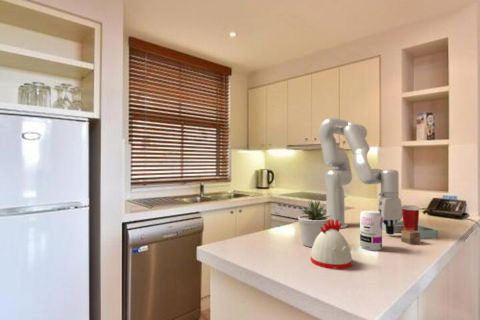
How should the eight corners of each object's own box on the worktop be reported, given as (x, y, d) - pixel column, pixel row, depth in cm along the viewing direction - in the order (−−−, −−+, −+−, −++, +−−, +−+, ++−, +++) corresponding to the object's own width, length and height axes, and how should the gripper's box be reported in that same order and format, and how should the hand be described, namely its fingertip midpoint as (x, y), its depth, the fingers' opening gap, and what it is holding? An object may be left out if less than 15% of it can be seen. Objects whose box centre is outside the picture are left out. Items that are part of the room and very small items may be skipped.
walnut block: (410, 244, 119) (409, 233, 119) (401, 241, 124) (401, 230, 124) (420, 244, 120) (420, 232, 120) (411, 241, 125) (411, 229, 125)
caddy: (409, 239, 127) (409, 231, 127) (381, 229, 146) (381, 222, 146) (437, 237, 130) (437, 230, 130) (406, 228, 149) (406, 221, 149)
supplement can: (380, 246, 117) (380, 210, 117) (383, 252, 109) (383, 213, 109) (359, 244, 120) (359, 209, 120) (361, 250, 112) (360, 212, 112)
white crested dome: (360, 266, 94) (360, 222, 94) (325, 271, 90) (325, 225, 90) (335, 254, 107) (335, 215, 107) (303, 257, 103) (303, 217, 103)
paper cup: (413, 232, 139) (412, 204, 139) (423, 237, 131) (423, 207, 131) (397, 232, 139) (397, 204, 139) (407, 237, 131) (407, 207, 131)
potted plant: (336, 249, 113) (336, 199, 113) (303, 249, 112) (302, 200, 112) (324, 240, 125) (324, 196, 126) (294, 241, 125) (294, 196, 125)
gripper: (380, 196, 128) (381, 236, 128) (409, 196, 130) (409, 235, 130) (370, 194, 135) (370, 232, 135) (397, 194, 138) (397, 231, 138)
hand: (389, 233), depth 133 cm, fingers closed
